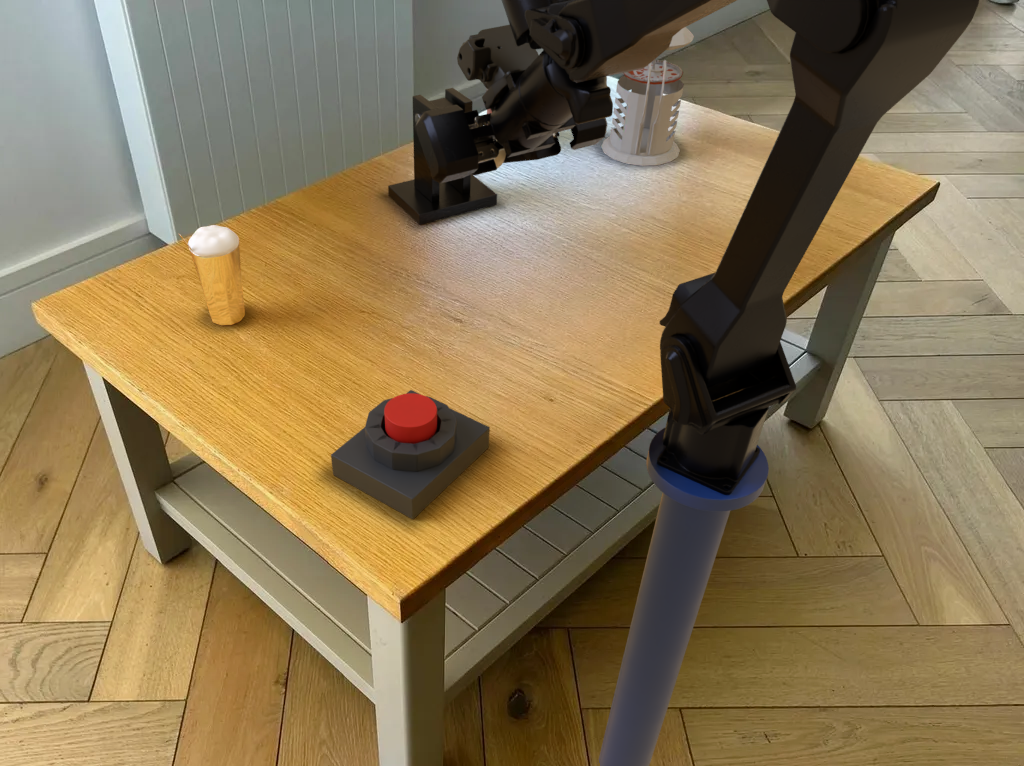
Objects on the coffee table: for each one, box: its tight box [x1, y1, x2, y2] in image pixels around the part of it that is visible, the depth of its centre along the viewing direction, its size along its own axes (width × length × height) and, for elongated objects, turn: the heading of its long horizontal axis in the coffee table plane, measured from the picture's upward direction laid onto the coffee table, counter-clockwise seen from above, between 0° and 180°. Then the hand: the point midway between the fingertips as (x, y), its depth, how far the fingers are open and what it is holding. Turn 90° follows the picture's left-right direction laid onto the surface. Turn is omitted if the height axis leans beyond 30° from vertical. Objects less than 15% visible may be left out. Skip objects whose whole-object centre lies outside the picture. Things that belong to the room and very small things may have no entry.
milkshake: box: [177, 224, 246, 326], centre depth 83 cm, size 4×5×10 cm
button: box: [384, 393, 437, 444], centre depth 69 cm, size 4×4×2 cm
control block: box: [330, 389, 491, 520], centre depth 70 cm, size 8×10×4 cm
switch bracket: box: [387, 87, 498, 226], centre depth 100 cm, size 8×10×12 cm
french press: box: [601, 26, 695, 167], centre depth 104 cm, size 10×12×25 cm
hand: (480, 162), depth 93 cm, fingers closed on lever, 3 cm apart
